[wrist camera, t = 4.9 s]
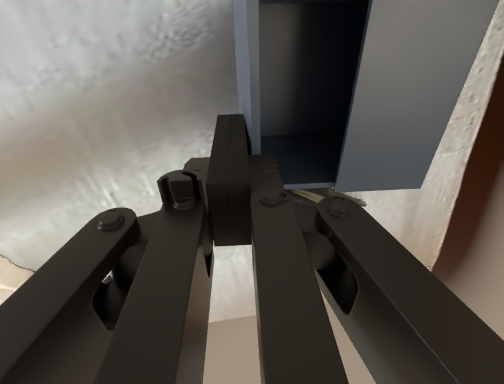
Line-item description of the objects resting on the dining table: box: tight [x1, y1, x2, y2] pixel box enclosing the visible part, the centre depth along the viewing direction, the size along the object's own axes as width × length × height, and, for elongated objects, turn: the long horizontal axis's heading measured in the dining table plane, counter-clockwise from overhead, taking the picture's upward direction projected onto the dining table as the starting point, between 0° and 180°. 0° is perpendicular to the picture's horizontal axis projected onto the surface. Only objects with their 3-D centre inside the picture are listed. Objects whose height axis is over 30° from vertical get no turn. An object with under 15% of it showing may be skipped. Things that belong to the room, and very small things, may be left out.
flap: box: [232, 0, 261, 155], centre depth 14 cm, size 7×13×1 cm
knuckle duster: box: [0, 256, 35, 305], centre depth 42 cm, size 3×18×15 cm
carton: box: [259, 0, 499, 192], centre depth 21 cm, size 14×13×11 cm
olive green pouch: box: [285, 187, 367, 207], centre depth 32 cm, size 5×3×15 cm
